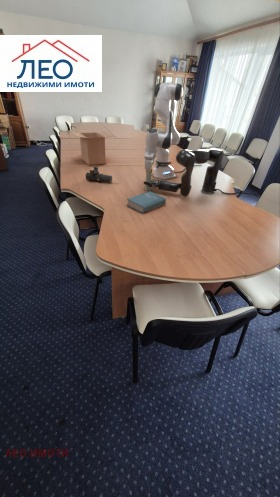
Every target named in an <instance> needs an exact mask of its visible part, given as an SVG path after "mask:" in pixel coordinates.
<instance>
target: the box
mask: <svg viewBox="0 0 280 497" xmlns="http://www.w3.org/2000/svg"><path fill="white" fill-rule="evenodd" d="M70 133H71V134H72V135H74V136H75V137H77V138H79V144H80V153H81V160H83V162H85V163H86V165H87V166H95V165H97V166H98V165H106V163H107V162H106V158H107V157H106V138H113V137H114V136H113V135H111V134H109V133H108V132H105V131H98V132H96V131H95V130H92V129H91V130H77V132H76V131H70Z"/></svg>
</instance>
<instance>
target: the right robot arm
mask: <svg viewBox="0 0 280 497" xmlns="http://www.w3.org/2000/svg"><path fill="white" fill-rule="evenodd" d="M224 155H225V152H224V151H223V150H221V149H217V148H209V149H192V150H191V149H181V150H179V151H178V152H177V154H176V156H175V161H176V162H177V164H179V165H180V166H182V167H183V168H184V169H185V168H186V169H185V170H184V171H183V172H182V174H181V177H180V182H172V181H169V180H165V179H160V180H159V179H151V182H146V180H145V181H143V185H148V187H150V189H155V188H158V190H159V191H165V192H170V193H177V192H179V193H180V195H181V197H183V198H187V197H188V196H189V195H190V193H191V190H192V184H191V183H192V176H193V171H194V167H195V166H194V165H203V164H207V163H208V162H211V163H214V164H213V165H208V166H207V167H206V171H205V175H204V179H203V182H202V186H201V192H202V193H203V194H207V195H212V194H214V193H215V192H217V191H219V192H220V193H222V194H225V195H236V194H242V195H253V196H255V197H258V195H257V193H254V192H243V191H236V192H224V191H222V190H221V189H220V188H217V187H216V186H217V178H218V174H219V171H220V169H221V165H222V162H223V160H224ZM150 183H151V184H150Z"/></svg>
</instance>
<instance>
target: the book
mask: <svg viewBox="0 0 280 497" xmlns="http://www.w3.org/2000/svg"><path fill="white" fill-rule="evenodd" d="M126 200H127V204H126V206H127V207H129V208H131V209H133V210H135V211H137V212H139V213H140V214H144V213H147V212H149V211H151V210H154V209H156V208H159V207H162V206H164V205H166V202H167V198H166V197H164V196H161V195H159V194H158V193H155V192H153V191H151V190H150V191H145V192H144V193H140V194H137V195H134V196H131V197H128V198H127V199H126Z"/></svg>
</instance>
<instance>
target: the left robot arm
mask: <svg viewBox="0 0 280 497" xmlns="http://www.w3.org/2000/svg"><path fill="white" fill-rule="evenodd" d="M153 90H154V91H153V93H154V94H153V95H154V97H155V102H154V111H155V114H156V115H157V116H158V117H159V118H160V122H161V124H162V125H163V126H164V127H165V128H166V129H165V130H164V129H156V128H149V129H147V131H146V135H145V148H144V156H143V158H144V170H145V171H146V170H147V174H148V175H149V173H150V172H149V171H150V169H152V170H153V166H154V170H153V173H152V174H153V175H152V176H153V177H154V178H156V179H160V180H169V179H173V178H177V175H176V174H177V173H178V174H179V173H184V172H185V171H186V168H185V167H184V169H183V170H181V171H175V169H174V168H173V167H172V166H171V165H172V164H173V162H172V161H169V158H170V151H169V150H168V149H170V148H171V147H172V146H178V144H179V143H180V140H181V135H180V133H179V132H178V131H177V129H176V126H175V118H176V117H175V115H176V110H177V109H176V108H177V107H176V106H177V103H178V102H179V101H180V100H181V99H182V97H183V94H184V87H183V85H182V84H181V83H175V82H158V83H156V85H155V86H154V89H153ZM155 158H156V159H155ZM154 164H155V165H154ZM199 166H202V164H194V167H199Z"/></svg>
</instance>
